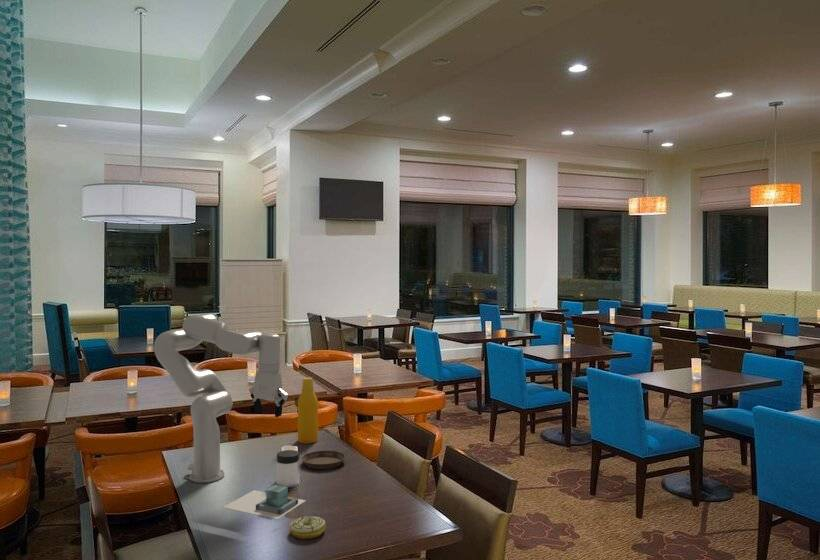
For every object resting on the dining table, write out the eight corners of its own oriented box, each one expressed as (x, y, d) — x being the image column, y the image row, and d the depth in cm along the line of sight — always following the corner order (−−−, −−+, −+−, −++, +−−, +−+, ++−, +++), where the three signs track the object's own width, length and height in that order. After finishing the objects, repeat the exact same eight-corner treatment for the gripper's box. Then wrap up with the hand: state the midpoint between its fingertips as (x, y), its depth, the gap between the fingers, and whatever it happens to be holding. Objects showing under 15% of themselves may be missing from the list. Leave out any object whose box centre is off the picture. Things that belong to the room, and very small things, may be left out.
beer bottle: (307, 436, 280) (307, 375, 279) (322, 440, 274) (322, 377, 273) (293, 441, 272) (293, 378, 271) (307, 445, 267) (307, 381, 266)
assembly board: (222, 511, 195) (222, 502, 195) (253, 494, 210) (253, 486, 210) (277, 523, 187) (277, 514, 186) (306, 504, 201) (306, 496, 201)
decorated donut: (300, 523, 187) (300, 511, 187) (331, 528, 184) (331, 516, 184) (283, 537, 178) (283, 525, 177) (315, 543, 174) (315, 530, 174)
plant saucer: (308, 456, 252) (308, 449, 252) (349, 457, 251) (349, 450, 251) (296, 470, 235) (296, 463, 235) (340, 472, 233) (340, 464, 233)
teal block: (266, 507, 195) (266, 489, 195) (275, 502, 200) (275, 484, 199) (278, 510, 193) (278, 492, 193) (287, 504, 198) (287, 486, 197)
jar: (280, 491, 213) (280, 458, 212) (272, 484, 219) (272, 452, 219) (303, 486, 218) (303, 454, 217) (295, 479, 224) (295, 448, 224)
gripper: (243, 366, 217) (242, 412, 217) (281, 372, 209) (280, 420, 210) (257, 363, 223) (256, 408, 224) (294, 369, 216) (293, 415, 216)
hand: (267, 414), depth 217 cm, fingers open, 9 cm apart
